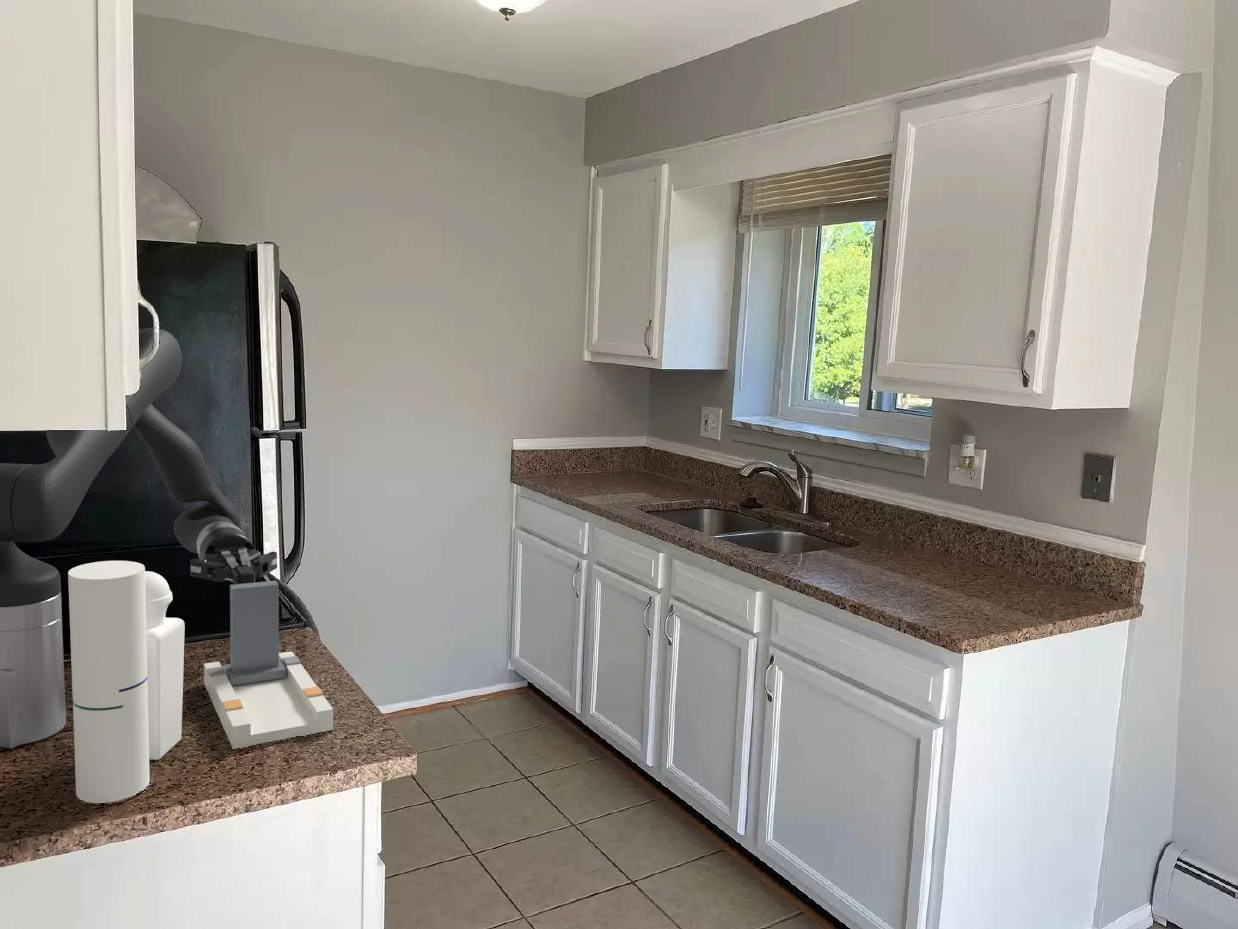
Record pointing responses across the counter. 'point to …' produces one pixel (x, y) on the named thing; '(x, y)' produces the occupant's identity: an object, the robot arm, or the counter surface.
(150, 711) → the soap dispenser
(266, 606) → the switch tab
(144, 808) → the counter surface
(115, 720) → the cylindrical container
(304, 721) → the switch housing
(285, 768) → the counter surface
